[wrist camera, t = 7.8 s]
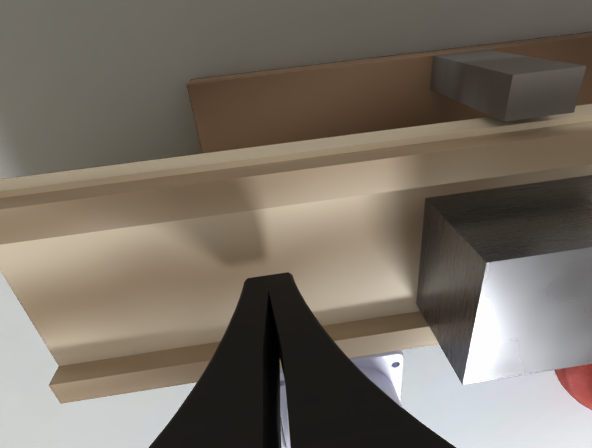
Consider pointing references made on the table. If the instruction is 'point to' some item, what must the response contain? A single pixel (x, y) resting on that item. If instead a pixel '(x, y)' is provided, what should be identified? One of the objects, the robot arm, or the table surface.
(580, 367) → the stacking bear
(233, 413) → the robot arm
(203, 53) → the table surface
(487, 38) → the table surface
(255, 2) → the table surface
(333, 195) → the balance beam
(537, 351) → the block
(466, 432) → the table surface
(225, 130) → the beam stand
